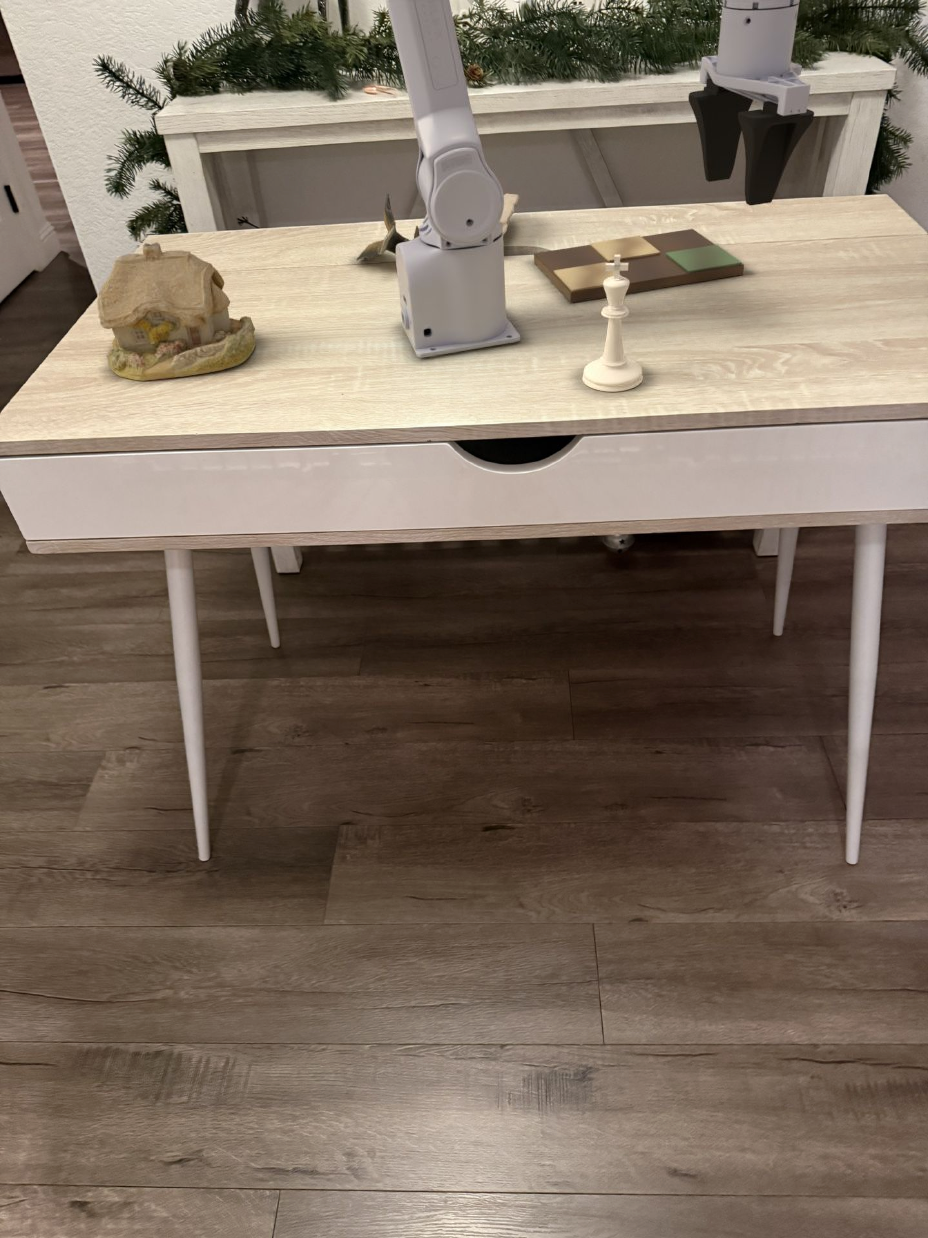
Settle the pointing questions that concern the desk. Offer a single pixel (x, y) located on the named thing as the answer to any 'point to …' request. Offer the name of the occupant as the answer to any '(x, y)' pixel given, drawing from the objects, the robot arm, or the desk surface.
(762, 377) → the desk surface
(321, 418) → the desk surface
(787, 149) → the robot arm
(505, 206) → the stone tool
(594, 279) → the board
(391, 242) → the brown pointed piece
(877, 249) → the desk surface
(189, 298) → the ceramic model
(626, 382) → the chess piece
